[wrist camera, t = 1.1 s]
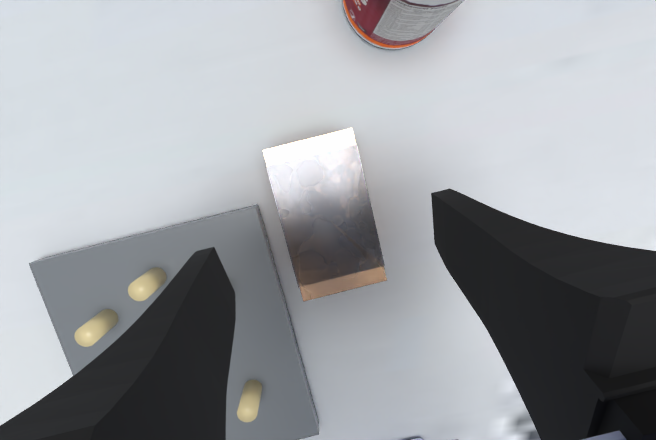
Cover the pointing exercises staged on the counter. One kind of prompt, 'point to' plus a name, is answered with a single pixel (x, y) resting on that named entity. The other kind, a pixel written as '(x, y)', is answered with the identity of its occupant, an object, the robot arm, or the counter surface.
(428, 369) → the counter surface
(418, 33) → the pill bottle
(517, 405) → the counter surface
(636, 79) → the counter surface
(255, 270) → the grey peg board
